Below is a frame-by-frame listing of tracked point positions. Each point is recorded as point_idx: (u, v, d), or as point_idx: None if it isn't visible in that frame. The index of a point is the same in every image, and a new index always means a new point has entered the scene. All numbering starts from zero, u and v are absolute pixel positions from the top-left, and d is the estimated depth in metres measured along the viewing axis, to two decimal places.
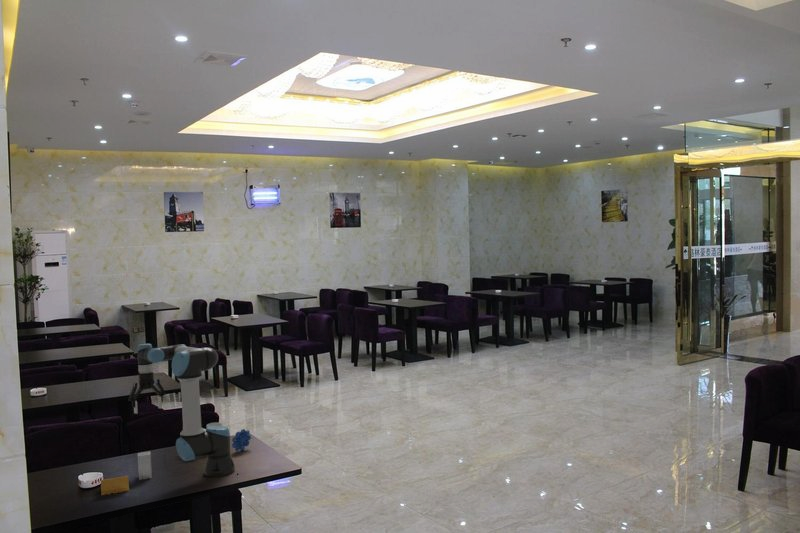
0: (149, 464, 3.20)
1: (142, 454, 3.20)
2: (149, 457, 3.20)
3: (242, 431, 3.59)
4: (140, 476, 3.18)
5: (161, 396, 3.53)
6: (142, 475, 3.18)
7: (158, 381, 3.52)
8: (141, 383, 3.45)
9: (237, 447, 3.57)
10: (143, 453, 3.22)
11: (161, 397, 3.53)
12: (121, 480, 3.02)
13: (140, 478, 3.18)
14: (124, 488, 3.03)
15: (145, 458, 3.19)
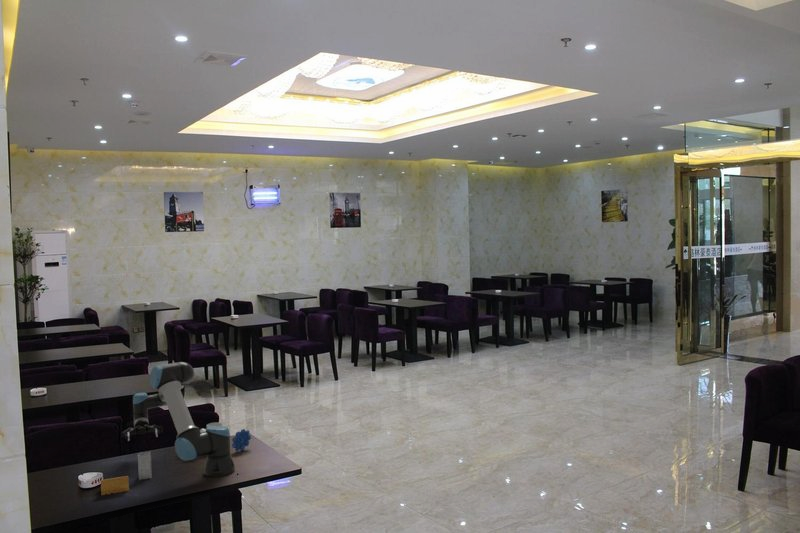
0: (149, 464, 3.20)
1: (142, 454, 3.20)
2: (149, 457, 3.20)
3: (242, 431, 3.59)
4: (140, 476, 3.18)
5: (157, 429, 3.39)
6: (142, 475, 3.18)
7: (154, 424, 3.46)
8: (135, 427, 3.43)
9: (237, 447, 3.57)
10: (143, 453, 3.22)
11: (157, 429, 3.38)
12: (121, 480, 3.02)
13: (140, 478, 3.18)
14: (124, 488, 3.03)
15: (145, 458, 3.19)
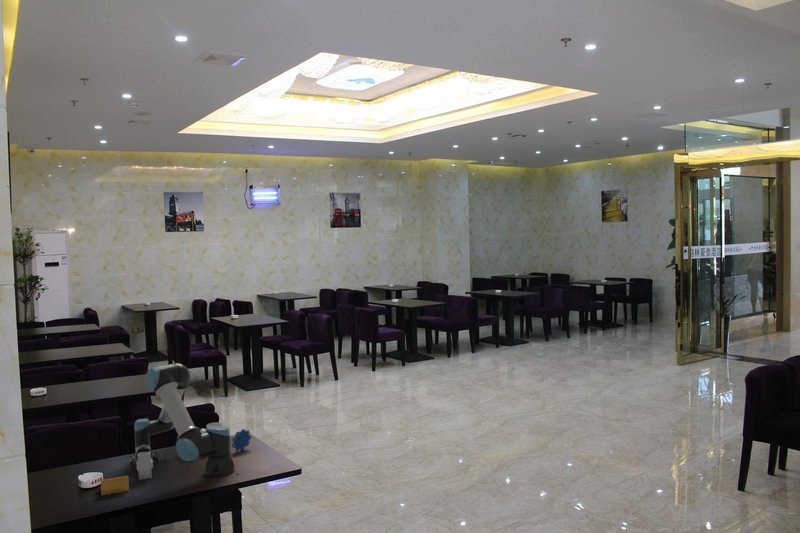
0: (149, 464, 3.20)
1: (142, 454, 3.20)
2: (149, 457, 3.20)
3: (242, 431, 3.59)
4: (140, 476, 3.18)
5: (152, 460, 3.24)
6: (142, 475, 3.18)
7: (155, 453, 3.33)
8: (136, 455, 3.31)
9: (237, 447, 3.57)
10: (143, 453, 3.22)
11: (153, 460, 3.24)
12: (121, 480, 3.02)
13: (140, 478, 3.18)
14: (124, 488, 3.03)
15: (145, 458, 3.19)
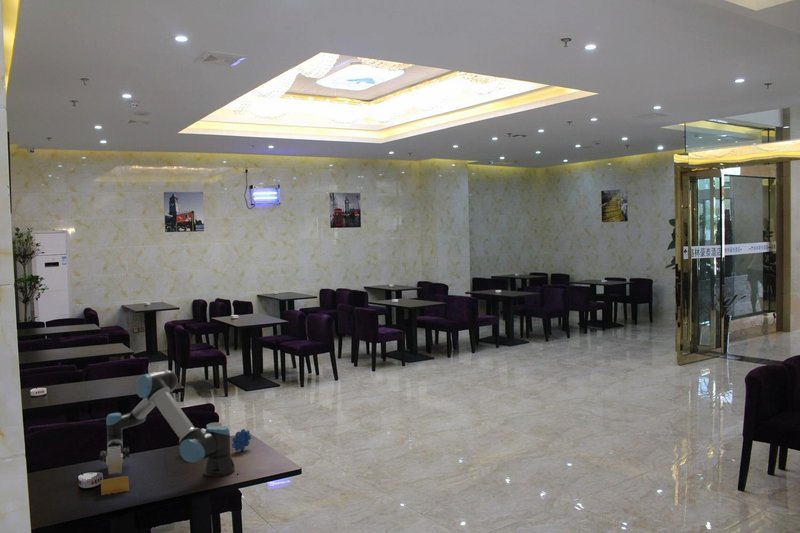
0: (119, 458, 3.15)
1: (112, 448, 3.15)
2: (119, 451, 3.15)
3: (242, 431, 3.59)
4: (110, 470, 3.13)
5: (123, 454, 3.19)
6: (112, 469, 3.13)
7: (127, 447, 3.29)
8: None
9: (237, 447, 3.57)
10: (113, 447, 3.17)
11: (123, 454, 3.19)
12: (121, 480, 3.02)
13: (110, 473, 3.13)
14: (124, 488, 3.03)
15: (115, 452, 3.14)
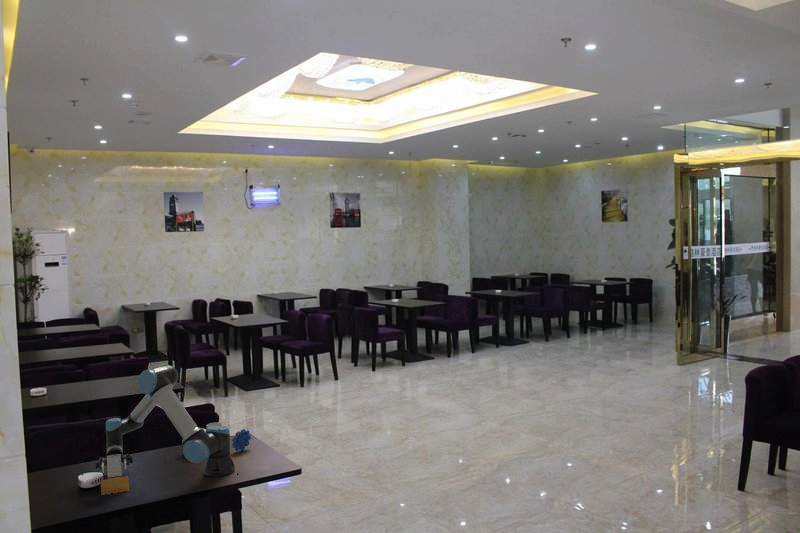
0: (119, 467, 3.04)
1: (112, 457, 3.04)
2: (119, 460, 3.04)
3: (242, 431, 3.59)
4: None
5: (126, 460, 3.10)
6: None
7: (127, 453, 3.18)
8: None
9: (237, 447, 3.57)
10: (113, 456, 3.06)
11: (127, 460, 3.09)
12: (121, 480, 3.02)
13: None
14: (124, 488, 3.03)
15: (114, 461, 3.03)
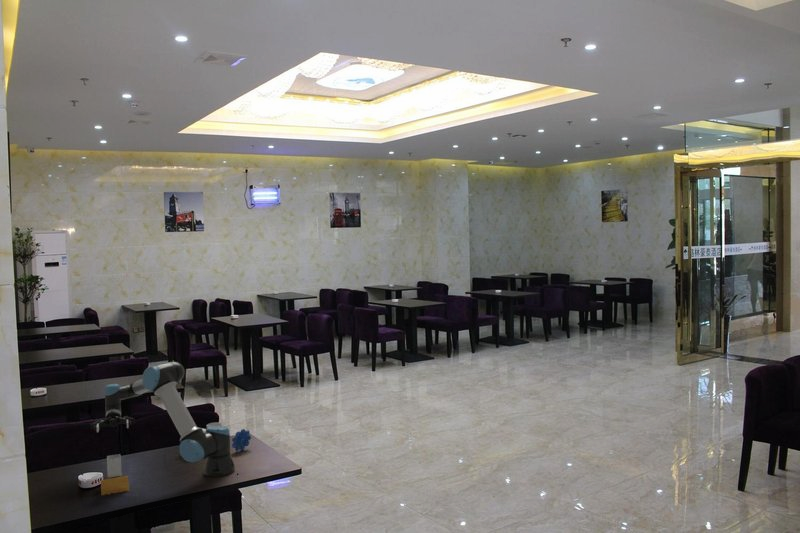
0: (119, 467, 3.04)
1: (112, 457, 3.04)
2: (119, 460, 3.04)
3: (242, 431, 3.59)
4: None
5: (129, 420, 3.23)
6: None
7: (126, 416, 3.30)
8: (105, 419, 3.27)
9: (237, 447, 3.57)
10: (113, 456, 3.06)
11: (129, 421, 3.22)
12: (121, 480, 3.02)
13: None
14: (124, 488, 3.03)
15: (114, 461, 3.03)
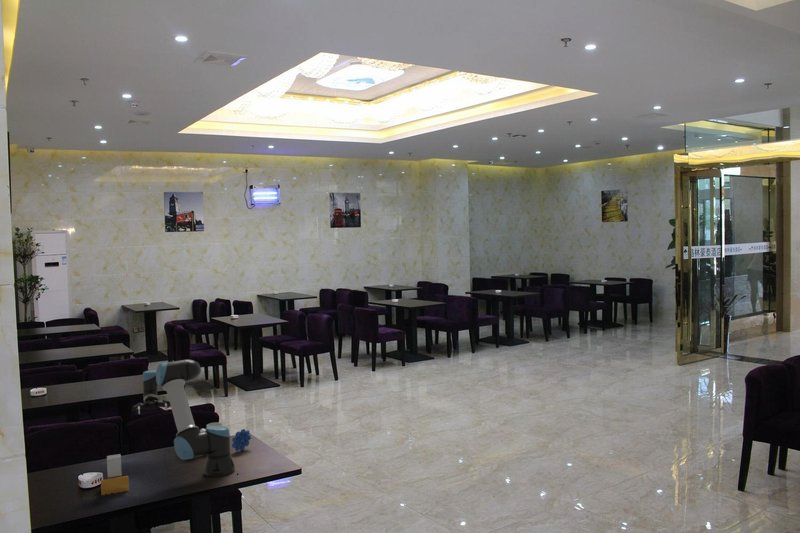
0: (119, 467, 3.04)
1: (112, 457, 3.04)
2: (119, 460, 3.04)
3: (242, 431, 3.59)
4: None
5: (167, 404, 3.47)
6: None
7: (163, 400, 3.54)
8: (145, 402, 3.51)
9: (237, 447, 3.57)
10: (113, 456, 3.06)
11: (167, 404, 3.47)
12: (121, 480, 3.02)
13: None
14: (124, 488, 3.03)
15: (114, 461, 3.03)
